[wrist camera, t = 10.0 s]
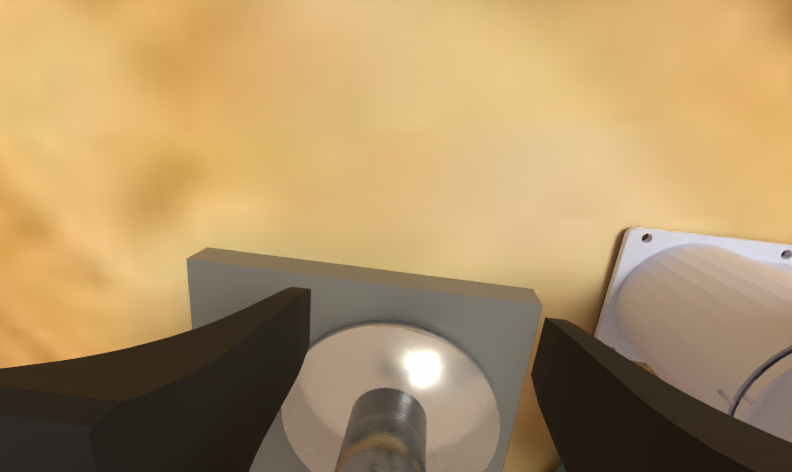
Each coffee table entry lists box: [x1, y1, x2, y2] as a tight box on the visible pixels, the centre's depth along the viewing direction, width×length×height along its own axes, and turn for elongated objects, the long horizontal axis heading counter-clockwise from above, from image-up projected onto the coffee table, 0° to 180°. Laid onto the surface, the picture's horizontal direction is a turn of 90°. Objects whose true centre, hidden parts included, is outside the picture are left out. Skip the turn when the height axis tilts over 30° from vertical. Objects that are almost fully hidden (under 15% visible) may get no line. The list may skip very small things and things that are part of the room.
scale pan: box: [281, 320, 500, 472], centre depth 22 cm, size 13×13×1 cm
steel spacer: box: [334, 388, 427, 472], centre depth 19 cm, size 4×4×6 cm
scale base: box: [187, 248, 543, 472], centre depth 23 cm, size 20×17×2 cm
